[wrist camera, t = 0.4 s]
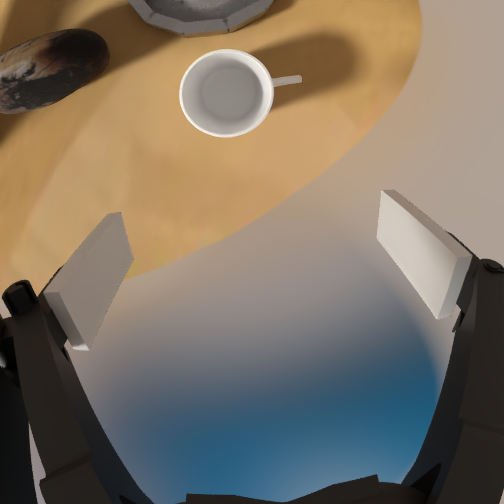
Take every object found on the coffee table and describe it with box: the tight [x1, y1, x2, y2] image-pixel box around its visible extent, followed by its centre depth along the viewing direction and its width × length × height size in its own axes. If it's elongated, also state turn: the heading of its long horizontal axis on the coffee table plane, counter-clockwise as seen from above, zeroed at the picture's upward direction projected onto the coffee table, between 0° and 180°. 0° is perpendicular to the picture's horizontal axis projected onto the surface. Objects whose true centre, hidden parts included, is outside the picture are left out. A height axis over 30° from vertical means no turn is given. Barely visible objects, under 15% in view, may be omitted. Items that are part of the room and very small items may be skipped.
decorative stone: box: [0, 29, 110, 114], centre depth 22 cm, size 18×9×15 cm, turn 96°
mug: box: [179, 49, 302, 137], centre depth 28 cm, size 12×8×12 cm
